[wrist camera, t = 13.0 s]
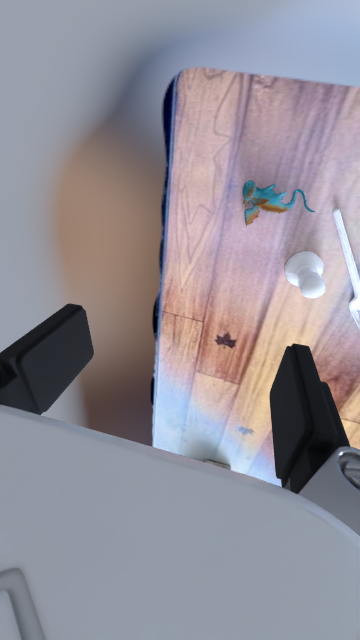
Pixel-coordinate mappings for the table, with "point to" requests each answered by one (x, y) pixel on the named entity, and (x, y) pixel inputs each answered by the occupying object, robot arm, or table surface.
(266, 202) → the dragon figurine
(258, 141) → the table surface
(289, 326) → the table surface
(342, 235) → the fork
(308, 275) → the chess pawn
